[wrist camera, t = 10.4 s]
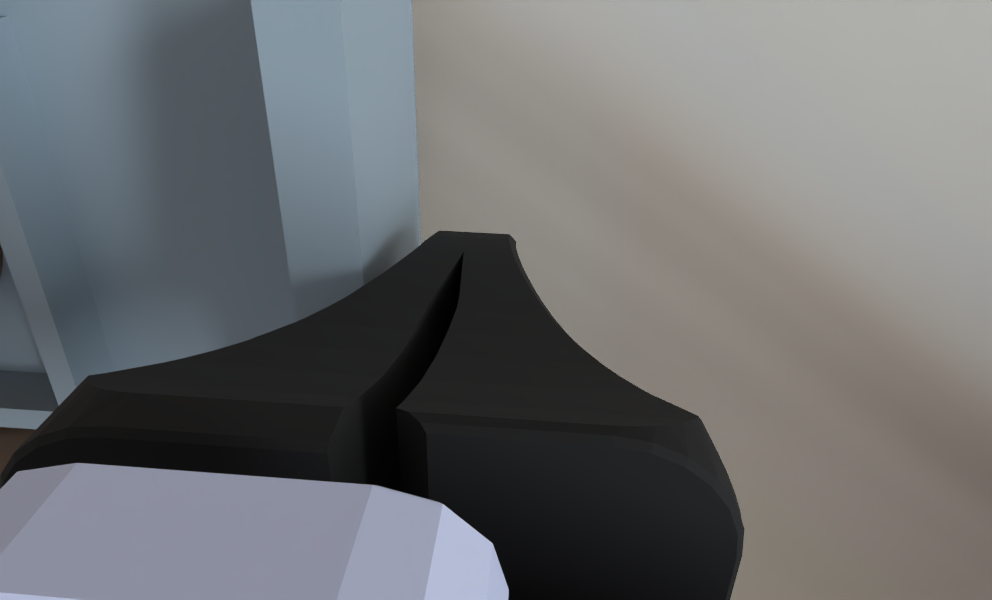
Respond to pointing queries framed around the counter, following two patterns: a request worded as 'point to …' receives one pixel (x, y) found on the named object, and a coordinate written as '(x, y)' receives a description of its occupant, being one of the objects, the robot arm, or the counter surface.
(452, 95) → the counter surface
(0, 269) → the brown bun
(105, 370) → the tray
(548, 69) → the counter surface
